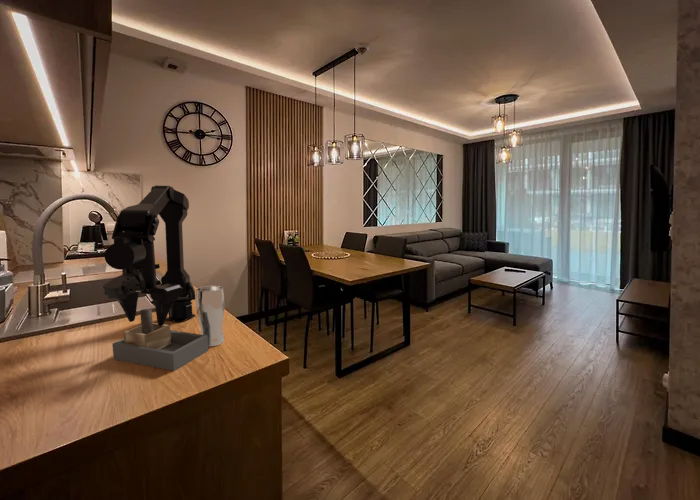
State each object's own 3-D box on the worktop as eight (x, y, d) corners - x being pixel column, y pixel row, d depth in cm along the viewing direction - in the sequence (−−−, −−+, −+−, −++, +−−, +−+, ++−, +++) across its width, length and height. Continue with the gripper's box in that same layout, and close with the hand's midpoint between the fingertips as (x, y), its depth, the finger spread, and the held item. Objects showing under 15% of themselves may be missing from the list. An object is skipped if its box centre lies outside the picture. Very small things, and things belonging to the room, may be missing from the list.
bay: (113, 359, 80) (112, 343, 79) (152, 341, 90) (151, 327, 90) (174, 370, 75) (173, 354, 74) (208, 350, 85) (207, 335, 84)
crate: (125, 351, 81) (121, 313, 80) (149, 340, 88) (147, 304, 86) (147, 355, 79) (144, 316, 78) (171, 343, 86) (168, 307, 84)
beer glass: (216, 348, 86) (213, 292, 84) (192, 346, 87) (189, 290, 85) (231, 338, 93) (229, 285, 91) (208, 336, 94) (206, 284, 92)
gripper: (77, 264, 75) (84, 330, 78) (141, 270, 70) (147, 340, 72) (123, 257, 86) (128, 315, 88) (182, 261, 81) (186, 323, 83)
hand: (146, 323), depth 83 cm, fingers open, 9 cm apart
